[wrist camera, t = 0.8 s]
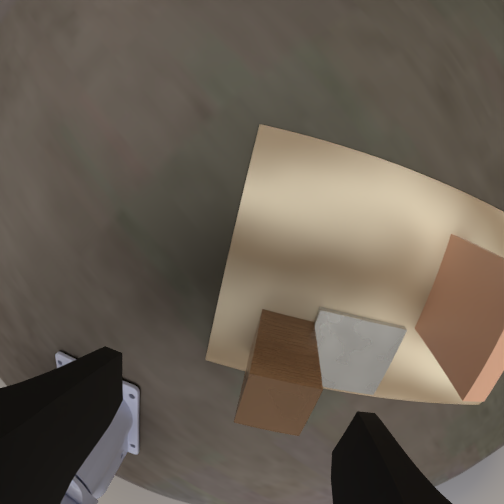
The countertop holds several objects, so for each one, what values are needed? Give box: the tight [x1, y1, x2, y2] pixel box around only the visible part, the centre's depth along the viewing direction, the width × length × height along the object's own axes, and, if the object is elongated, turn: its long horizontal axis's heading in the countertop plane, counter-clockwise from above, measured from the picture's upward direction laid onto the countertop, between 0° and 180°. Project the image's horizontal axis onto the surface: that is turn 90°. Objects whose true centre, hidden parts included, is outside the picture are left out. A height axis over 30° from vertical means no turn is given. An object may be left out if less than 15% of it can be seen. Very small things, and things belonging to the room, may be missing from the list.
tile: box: [415, 234, 504, 402], centre depth 12 cm, size 6×2×7 cm, turn 166°
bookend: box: [234, 307, 407, 436], centre depth 14 cm, size 5×8×6 cm, turn 76°
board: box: [205, 124, 504, 405], centre depth 16 cm, size 14×22×1 cm, turn 76°
